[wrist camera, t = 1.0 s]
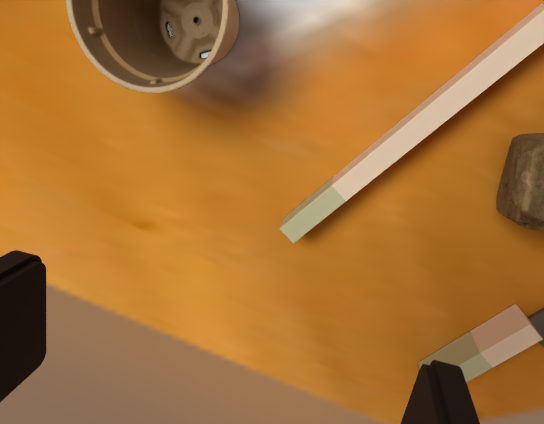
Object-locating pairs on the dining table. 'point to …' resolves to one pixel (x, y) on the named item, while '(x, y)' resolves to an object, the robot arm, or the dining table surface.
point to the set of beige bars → (403, 137)
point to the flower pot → (153, 39)
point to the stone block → (524, 182)
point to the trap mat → (538, 323)
